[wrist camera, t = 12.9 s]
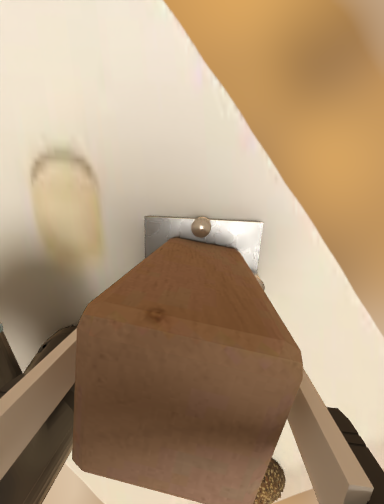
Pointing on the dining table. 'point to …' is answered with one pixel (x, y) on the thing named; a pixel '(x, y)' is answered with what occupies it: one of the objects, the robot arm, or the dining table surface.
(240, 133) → the dining table surface
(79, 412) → the wooden block
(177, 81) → the dining table surface
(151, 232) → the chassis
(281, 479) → the brown rounded lump
